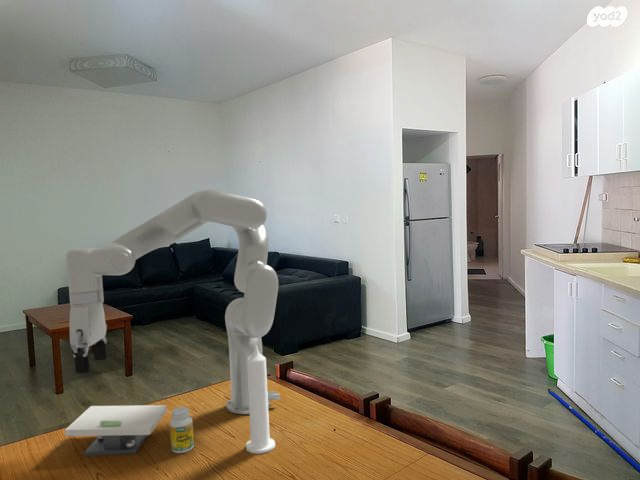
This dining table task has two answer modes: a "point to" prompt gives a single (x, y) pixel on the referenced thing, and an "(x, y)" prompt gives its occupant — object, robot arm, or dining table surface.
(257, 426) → the candle
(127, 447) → the tribrach base
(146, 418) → the level board
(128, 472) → the dining table surface
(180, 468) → the dining table surface
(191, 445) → the supplement bottle
